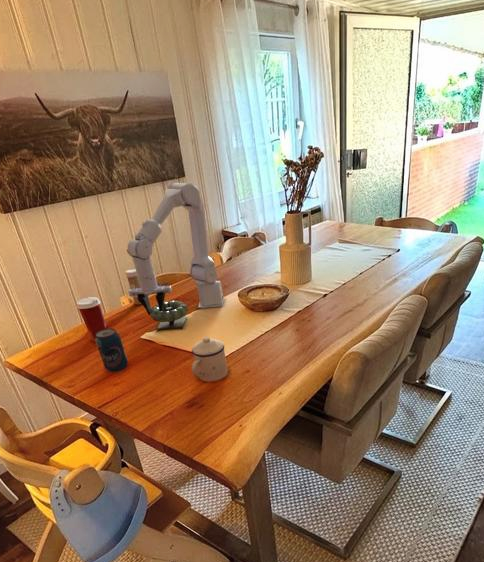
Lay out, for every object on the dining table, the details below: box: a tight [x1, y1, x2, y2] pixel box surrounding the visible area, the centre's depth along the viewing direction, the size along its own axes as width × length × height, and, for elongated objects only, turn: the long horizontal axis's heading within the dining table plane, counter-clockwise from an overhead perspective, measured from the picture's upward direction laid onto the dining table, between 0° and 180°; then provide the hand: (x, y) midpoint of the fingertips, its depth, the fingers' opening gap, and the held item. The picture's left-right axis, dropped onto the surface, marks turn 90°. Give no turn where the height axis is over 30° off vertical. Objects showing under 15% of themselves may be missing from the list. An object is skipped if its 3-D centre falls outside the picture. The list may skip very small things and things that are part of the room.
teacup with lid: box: [190, 336, 229, 383], centre depth 121 cm, size 12×9×12 cm
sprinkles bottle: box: [125, 268, 142, 306], centre depth 175 cm, size 5×5×13 cm
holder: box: [156, 307, 187, 332], centre depth 155 cm, size 9×9×6 cm
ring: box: [149, 300, 189, 323], centre depth 154 cm, size 13×13×4 cm
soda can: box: [95, 327, 129, 373], centre depth 129 cm, size 7×7×12 cm
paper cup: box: [76, 296, 108, 343], centre depth 148 cm, size 8×8×14 cm
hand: (156, 313), depth 154 cm, fingers closed on ring, 4 cm apart
